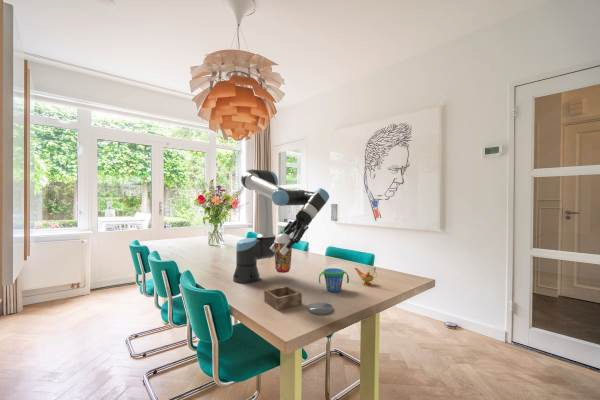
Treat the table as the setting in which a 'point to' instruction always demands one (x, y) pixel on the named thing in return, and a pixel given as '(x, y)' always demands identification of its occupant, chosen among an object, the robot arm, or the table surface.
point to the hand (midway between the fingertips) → (276, 251)
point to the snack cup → (333, 279)
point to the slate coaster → (320, 308)
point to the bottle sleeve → (282, 297)
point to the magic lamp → (365, 277)
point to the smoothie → (281, 261)
